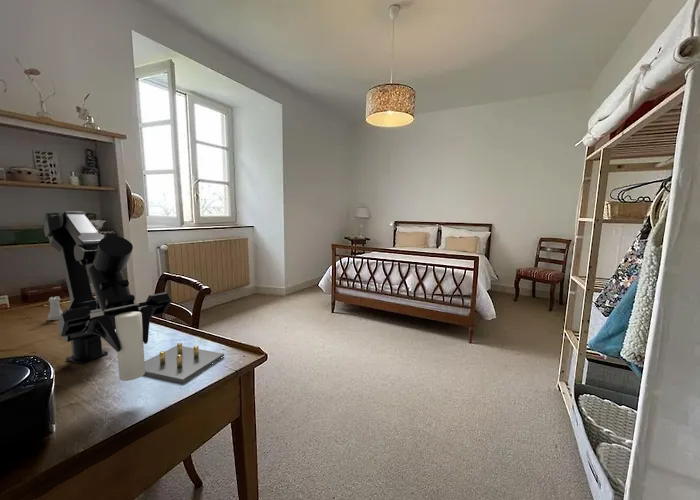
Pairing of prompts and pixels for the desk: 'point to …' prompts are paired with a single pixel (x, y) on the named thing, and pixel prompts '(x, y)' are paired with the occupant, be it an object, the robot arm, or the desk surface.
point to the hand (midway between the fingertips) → (133, 346)
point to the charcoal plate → (180, 363)
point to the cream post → (130, 345)
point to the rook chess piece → (54, 308)
